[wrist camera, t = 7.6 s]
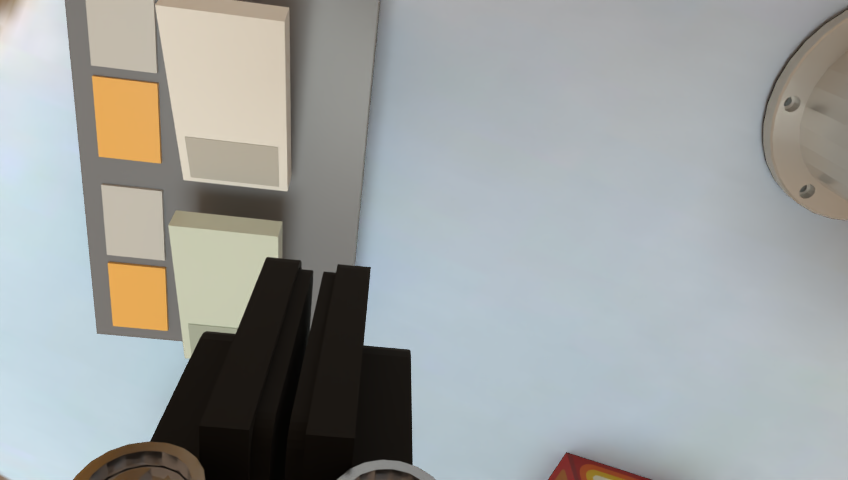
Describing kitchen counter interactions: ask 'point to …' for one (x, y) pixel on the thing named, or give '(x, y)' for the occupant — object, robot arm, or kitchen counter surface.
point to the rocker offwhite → (229, 90)
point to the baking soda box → (589, 470)
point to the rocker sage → (217, 268)
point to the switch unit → (167, 191)
